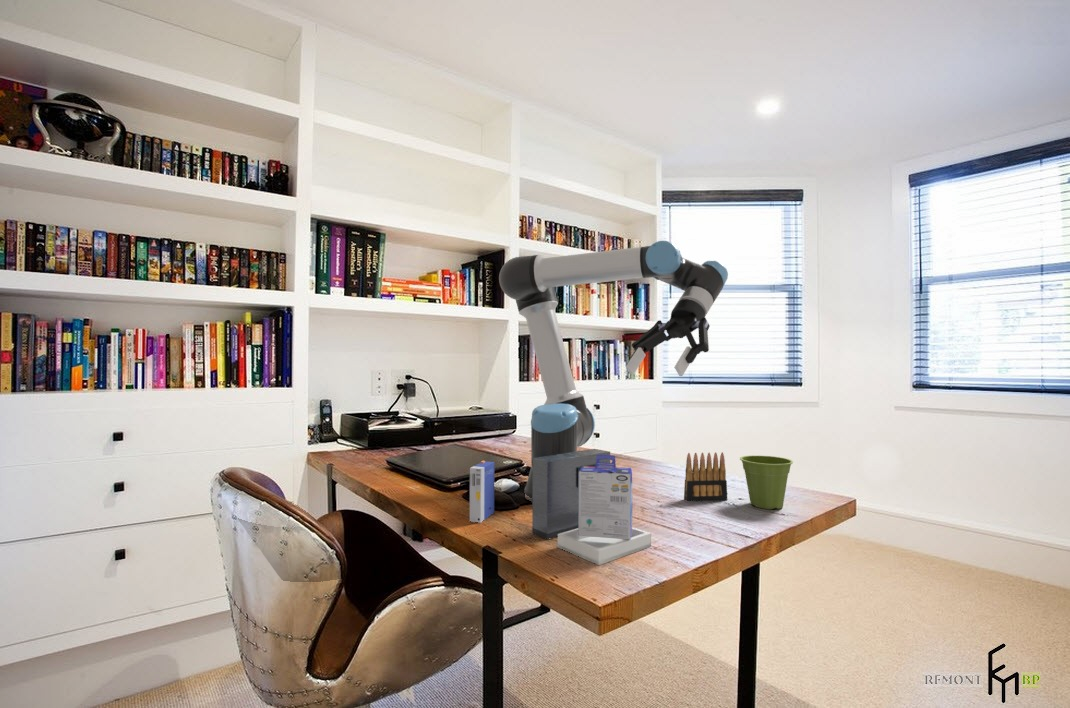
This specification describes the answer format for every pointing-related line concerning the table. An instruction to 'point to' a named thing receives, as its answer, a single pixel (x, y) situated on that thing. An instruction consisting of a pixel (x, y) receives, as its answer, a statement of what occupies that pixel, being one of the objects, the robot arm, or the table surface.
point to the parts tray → (603, 545)
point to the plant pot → (766, 480)
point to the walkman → (481, 491)
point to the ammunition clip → (705, 479)
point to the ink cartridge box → (605, 500)
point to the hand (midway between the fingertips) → (652, 371)
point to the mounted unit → (559, 490)
